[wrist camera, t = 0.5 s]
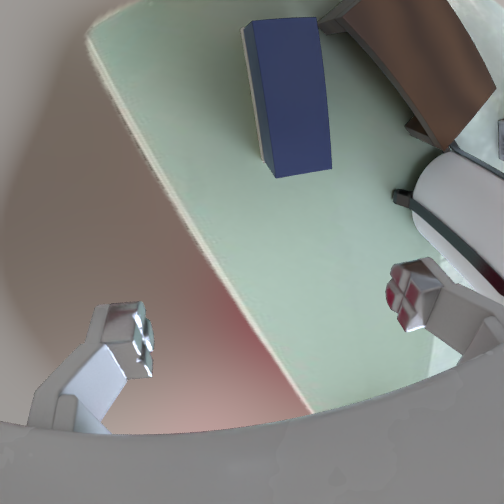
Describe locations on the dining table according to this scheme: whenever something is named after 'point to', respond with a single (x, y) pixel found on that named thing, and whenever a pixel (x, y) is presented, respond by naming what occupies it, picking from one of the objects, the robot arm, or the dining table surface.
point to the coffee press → (462, 217)
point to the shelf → (420, 60)
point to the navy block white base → (288, 94)
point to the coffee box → (501, 139)
